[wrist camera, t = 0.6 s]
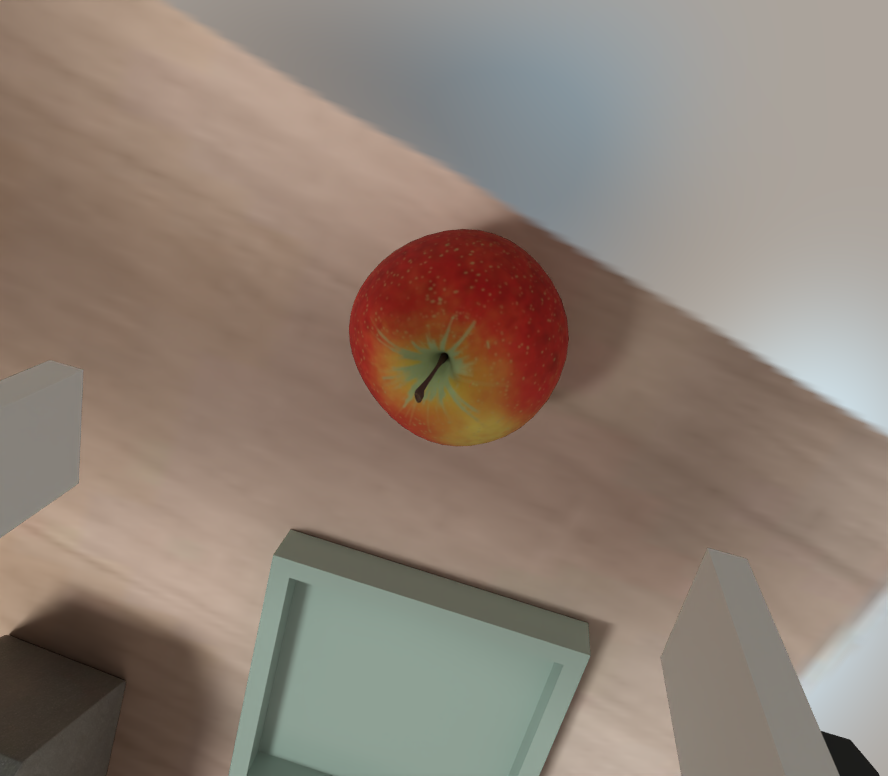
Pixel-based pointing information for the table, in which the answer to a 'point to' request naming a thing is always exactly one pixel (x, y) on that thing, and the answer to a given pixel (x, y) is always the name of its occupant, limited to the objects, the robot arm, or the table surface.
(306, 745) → the dish
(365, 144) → the table surface
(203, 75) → the table surface
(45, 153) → the table surface
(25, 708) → the grey hexagonal block
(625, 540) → the table surface
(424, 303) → the apple
